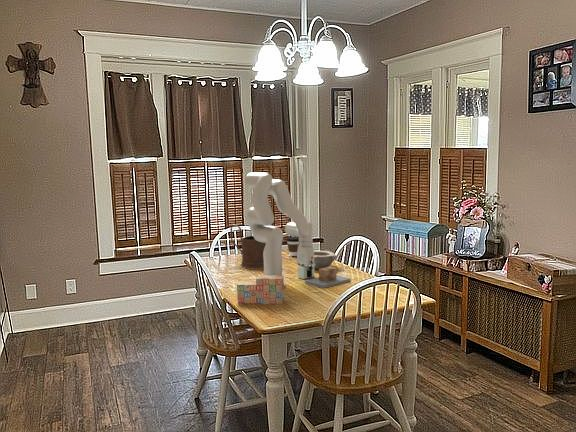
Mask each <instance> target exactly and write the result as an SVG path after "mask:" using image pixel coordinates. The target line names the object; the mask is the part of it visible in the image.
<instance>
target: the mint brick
mask: <svg viewBox="0 0 576 432" xmlns="http://www.w3.org/2000/svg"><path fill="white" fill-rule="evenodd" d="M309 267H310V265H309ZM307 270H308V269H307V265H304V266H299V265H298V266H297V278H298V279H303V280H304V279H306V280H307V279H312V278H313V277H314V278H315V269H314V268H313V270H312V277H307Z"/></svg>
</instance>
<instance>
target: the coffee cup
mask: <svg viewBox="0 0 576 432" xmlns="http://www.w3.org/2000/svg"><path fill="white" fill-rule="evenodd" d="M285 241H286V242H287V244H286V245H287V248H288V255H289V257H292V256H297V250H298V246H299V237H297V236H289V237H287V238H286V240H285Z"/></svg>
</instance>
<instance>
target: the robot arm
mask: <svg viewBox="0 0 576 432" xmlns="http://www.w3.org/2000/svg"><path fill="white" fill-rule="evenodd" d="M244 183H245V186H246V187H248V188H249V189H250V190H253V191H252V193H251V205H252V206H251V207H250V208H248V209H247V212H246V221H247V224H248V225H249V229H250V232H251V234H252V236H253V237H254V238H255V240H257V241H258V242H262V243H266V245H265V248H264V252H263V257H264V268H263V275H264V276H265V275H270V276H271V275H277V276H283V259H282V257H283V255H282V253H283V252H282V250H283V249H282V247H283V242H284V241H283V239H284V233H283V230H282V229H281V228H280V227H279V226H276V225H272V224H273V223H274V221H275V216H274V212H273V209H272V206H271V204H270V200H269V196H272V197H273V199H274V202H275V204H276V207H277V209H278V211H279V212H280V213H282V214H283V215H285V216H287V217H288V218H289V219H291V221H289V222H287V224H285V226H284V232H285V233H286V234H287V235H288V236H289V237H299V246H298V250H297V257H296V262H297V264H298V267H299V266H304V265H307V269H308V270H307V277H311V278H313V277H312V270H313V268H314V266H315V265H316V264H315V262H314V251H315V250H314V246H313V245H314V244H313V242H314V241H313V239H314V238H313V233H314V232H313V223H312V221H311V220H310V221H309V220H307V218H306V216H305V214H304V213H303V212H302V211H301V210H300V209H299V208H298V207H297V206H296V205H295V204H294V202H293V199H292V197H291V194H290V191H289V189H288V187H287V184H286V182H285V181H284V180H282V179H278V178H276V179H275V178H273V177H272V175H271V174H270V173H268V172H262V171H261V172H257V171H254V172H252V171H251V172H249V173H247V174H246V176H245V177H244ZM309 265H310V267H309ZM285 286H286V282H285V281H284V287H285Z"/></svg>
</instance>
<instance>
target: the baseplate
mask: <svg viewBox="0 0 576 432" xmlns="http://www.w3.org/2000/svg"><path fill="white" fill-rule="evenodd" d="M351 280H352V279H351V278H350V277H345V276H342V275H338V274H336V279H334V280H330V281H326V282H325V281H321V280H319V276H318V277H314V278H313V277H312V278H308V279H306V280H304V284H305V285H309V286H314V287H318V288H321V289H326V288H330V287H333V286H338V285H341V284H345V283H349V281H350V282H351Z"/></svg>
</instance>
